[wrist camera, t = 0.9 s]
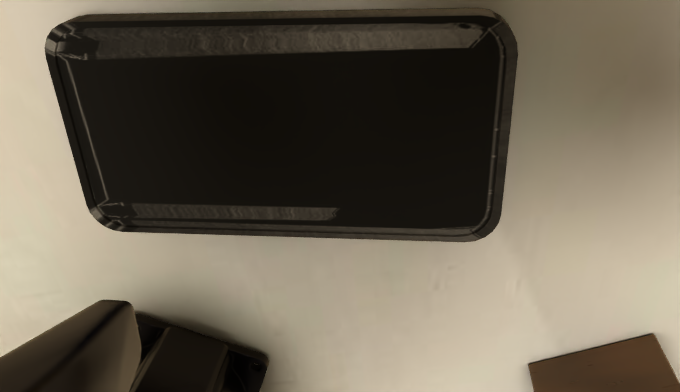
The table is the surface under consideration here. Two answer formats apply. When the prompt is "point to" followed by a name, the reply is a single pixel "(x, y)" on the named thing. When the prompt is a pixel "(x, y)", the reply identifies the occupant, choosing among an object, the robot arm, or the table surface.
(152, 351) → the robot arm
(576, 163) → the table surface
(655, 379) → the walnut block
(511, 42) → the phone
